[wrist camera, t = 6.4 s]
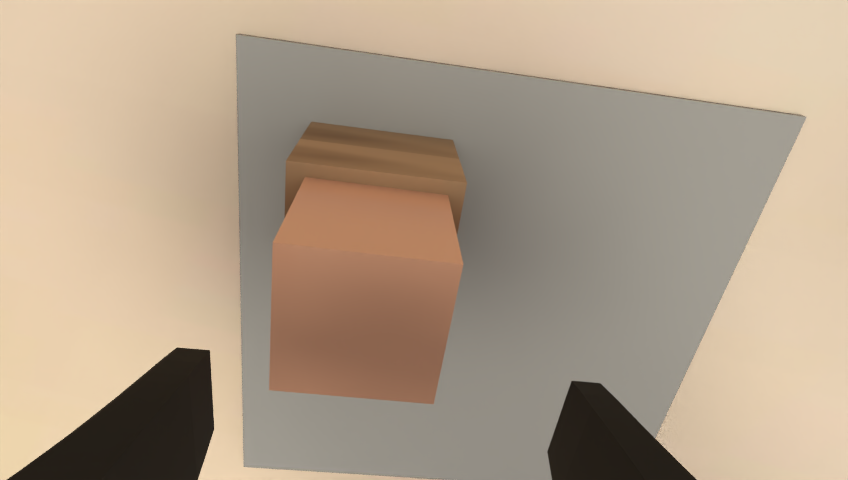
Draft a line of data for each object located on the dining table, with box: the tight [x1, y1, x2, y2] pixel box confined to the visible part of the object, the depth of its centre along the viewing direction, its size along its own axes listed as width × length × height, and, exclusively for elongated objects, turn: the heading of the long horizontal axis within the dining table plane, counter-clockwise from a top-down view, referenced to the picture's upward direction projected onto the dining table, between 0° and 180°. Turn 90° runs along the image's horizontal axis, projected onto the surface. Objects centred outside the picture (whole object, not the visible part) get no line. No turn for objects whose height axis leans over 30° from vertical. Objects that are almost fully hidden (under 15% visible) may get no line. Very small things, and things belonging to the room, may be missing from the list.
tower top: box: [284, 139, 467, 234], centre depth 16 cm, size 5×5×2 cm
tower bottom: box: [300, 122, 459, 159], centre depth 18 cm, size 5×5×2 cm
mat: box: [236, 34, 806, 480], centre depth 22 cm, size 20×20×1 cm
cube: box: [269, 177, 463, 404], centre depth 13 cm, size 4×4×4 cm
